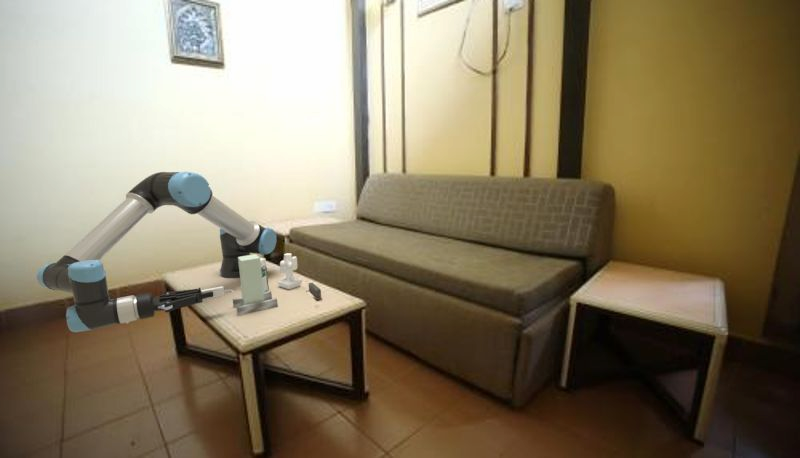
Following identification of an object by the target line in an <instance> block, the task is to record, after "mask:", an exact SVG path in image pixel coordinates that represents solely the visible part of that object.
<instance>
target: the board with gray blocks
mask: <svg viewBox="0 0 800 458" xmlns="http://www.w3.org/2000/svg"><path fill="white" fill-rule="evenodd" d="M305 292H306V294H308V295H309V296H310V297H311V298H312V299H313V300H315V301H316V302H319V301H322V300H323V299H322V289H320V287H318V286H317V285H316V284H314V283H313V282H309V283H308V290H306V291H305ZM263 294H264V301H261V302H256V303H252V304H247V305H243V299H242V296H241V297H237V298H232V307H233V308H236V314H237V317H238V316H243V315H248V314H252V313H256V312H260V311H266V310H269V309H274V308H278V299H277V298H276V297H274V298H273V297H272V296H273V295H272V291H270V290H269V291H267V292H265V293H263Z"/></svg>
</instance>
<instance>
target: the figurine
mask: <svg viewBox="0 0 800 458" xmlns="http://www.w3.org/2000/svg"><path fill="white" fill-rule="evenodd" d="M279 269H280V270H279V271H280V273H281V274H285V278H283V279H280V280H277V281H276V282H277V284H278V285H279V287H280V288H283V289H285V290H288V291H289V290H293V289H294V288H295V289H296V288H297V287H300V286H301V284H302V283H303V281H304V280H303V279H301V278H298V277H294V271H296V270H297V269H298V258H297V256H293V254H292V253H290V252H289V253H284V254H283V260H281V261H280V262H279Z"/></svg>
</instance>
